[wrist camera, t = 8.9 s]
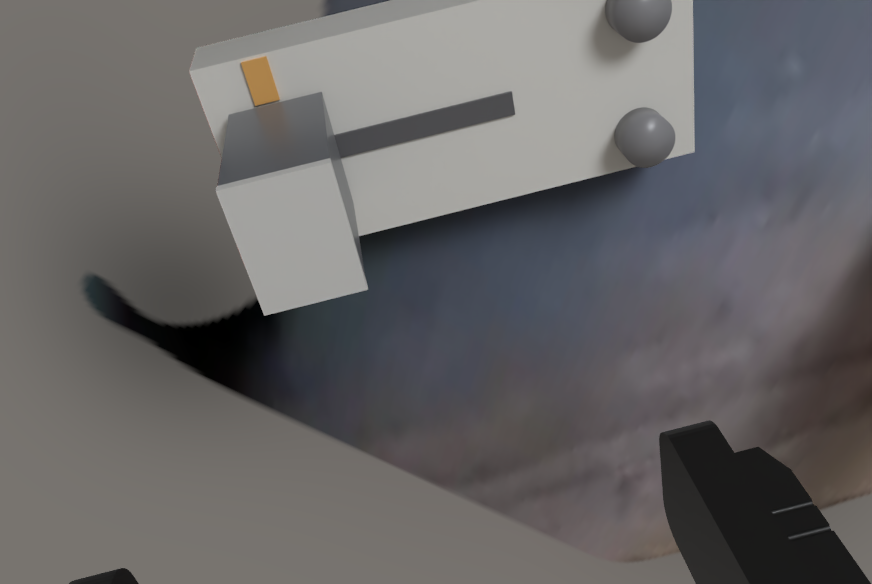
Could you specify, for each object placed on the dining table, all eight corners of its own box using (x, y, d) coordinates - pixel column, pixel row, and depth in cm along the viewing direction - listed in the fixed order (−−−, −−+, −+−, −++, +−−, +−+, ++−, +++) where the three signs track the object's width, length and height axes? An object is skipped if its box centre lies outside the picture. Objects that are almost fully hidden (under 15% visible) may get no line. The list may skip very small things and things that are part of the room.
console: (660, -66, 27) (706, -46, 24) (667, 126, 31) (706, 163, 28) (196, 47, 27) (185, 82, 24) (261, 227, 31) (259, 275, 28)
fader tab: (321, 91, 25) (330, 162, 21) (354, 202, 28) (367, 289, 23) (227, 114, 25) (215, 191, 21) (267, 224, 28) (264, 315, 23)
